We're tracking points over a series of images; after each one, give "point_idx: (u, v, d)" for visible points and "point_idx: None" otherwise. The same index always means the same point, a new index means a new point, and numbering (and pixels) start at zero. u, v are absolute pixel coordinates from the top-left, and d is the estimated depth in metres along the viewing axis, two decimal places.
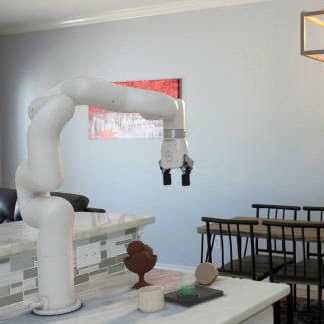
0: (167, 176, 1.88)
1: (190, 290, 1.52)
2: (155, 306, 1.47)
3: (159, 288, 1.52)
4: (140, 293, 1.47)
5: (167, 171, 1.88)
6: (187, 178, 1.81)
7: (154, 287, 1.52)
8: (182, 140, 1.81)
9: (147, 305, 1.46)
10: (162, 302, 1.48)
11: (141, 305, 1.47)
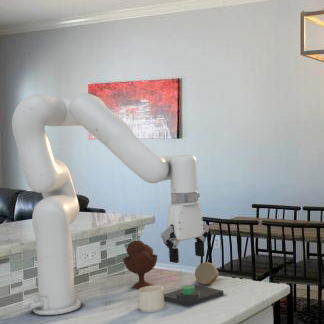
0: (198, 245, 1.57)
1: (190, 290, 1.52)
2: (155, 306, 1.47)
3: (159, 288, 1.52)
4: (140, 293, 1.47)
5: (199, 239, 1.57)
6: (170, 253, 1.49)
7: (154, 287, 1.52)
8: (171, 206, 1.50)
9: (147, 305, 1.46)
10: (162, 302, 1.48)
11: (141, 305, 1.47)
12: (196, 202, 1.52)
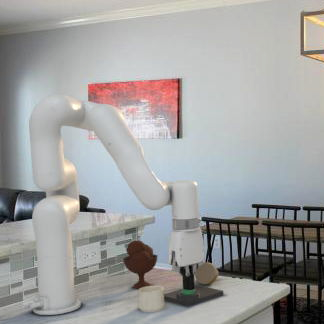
0: None
1: (190, 293, 1.52)
2: (155, 306, 1.47)
3: (159, 288, 1.52)
4: (140, 293, 1.47)
5: (191, 270, 1.54)
6: (184, 281, 1.52)
7: (154, 287, 1.52)
8: (172, 232, 1.50)
9: (147, 305, 1.46)
10: (162, 302, 1.48)
11: (141, 305, 1.47)
12: (197, 228, 1.51)
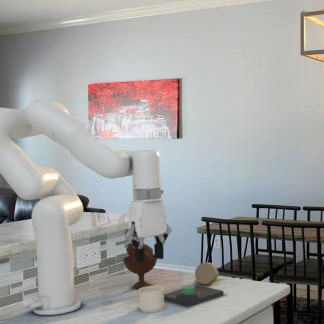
0: (157, 247, 1.51)
1: (190, 291, 1.52)
2: (155, 306, 1.47)
3: (159, 288, 1.52)
4: (140, 293, 1.47)
5: (159, 240, 1.51)
6: (136, 254, 1.46)
7: (154, 287, 1.52)
8: (132, 202, 1.46)
9: (147, 305, 1.46)
10: (162, 302, 1.48)
11: (141, 305, 1.47)
12: (158, 198, 1.47)
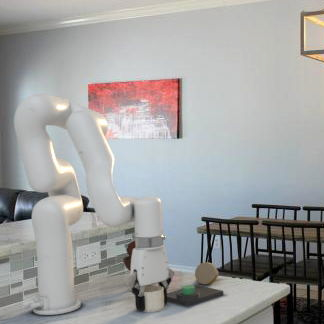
0: None
1: (190, 291, 1.52)
2: (155, 306, 1.47)
3: (159, 288, 1.52)
4: None
5: (162, 285, 1.52)
6: (136, 301, 1.46)
7: (154, 287, 1.52)
8: (134, 250, 1.46)
9: (147, 305, 1.46)
10: (162, 302, 1.48)
11: None
12: (160, 246, 1.48)
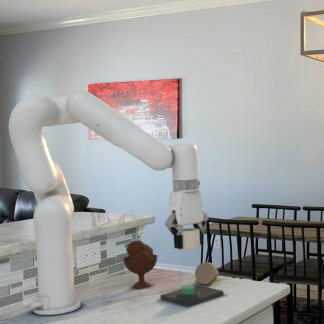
0: None
1: (190, 291, 1.52)
2: (192, 245, 1.57)
3: (195, 230, 1.62)
4: None
5: (198, 227, 1.63)
6: (175, 240, 1.57)
7: (190, 229, 1.63)
8: (172, 193, 1.57)
9: (185, 244, 1.57)
10: (198, 242, 1.59)
11: None
12: (197, 189, 1.58)
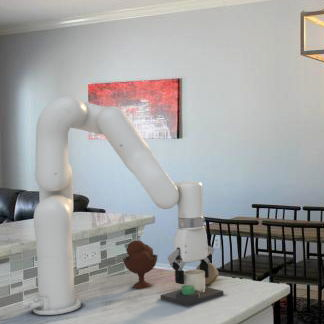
0: (202, 267, 1.65)
1: (190, 291, 1.52)
2: (198, 288, 1.59)
3: (200, 272, 1.64)
4: (184, 276, 1.59)
5: (204, 261, 1.65)
6: (176, 275, 1.57)
7: (195, 271, 1.65)
8: (177, 230, 1.58)
9: None
10: (204, 284, 1.61)
11: None
12: (201, 226, 1.60)
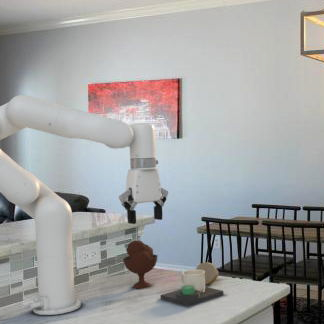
0: (156, 209, 1.66)
1: (190, 291, 1.52)
2: (198, 288, 1.59)
3: (200, 272, 1.64)
4: (184, 276, 1.59)
5: (158, 204, 1.66)
6: (128, 215, 1.59)
7: (195, 271, 1.65)
8: (129, 171, 1.59)
9: None
10: (204, 284, 1.61)
11: None
12: (153, 167, 1.61)
